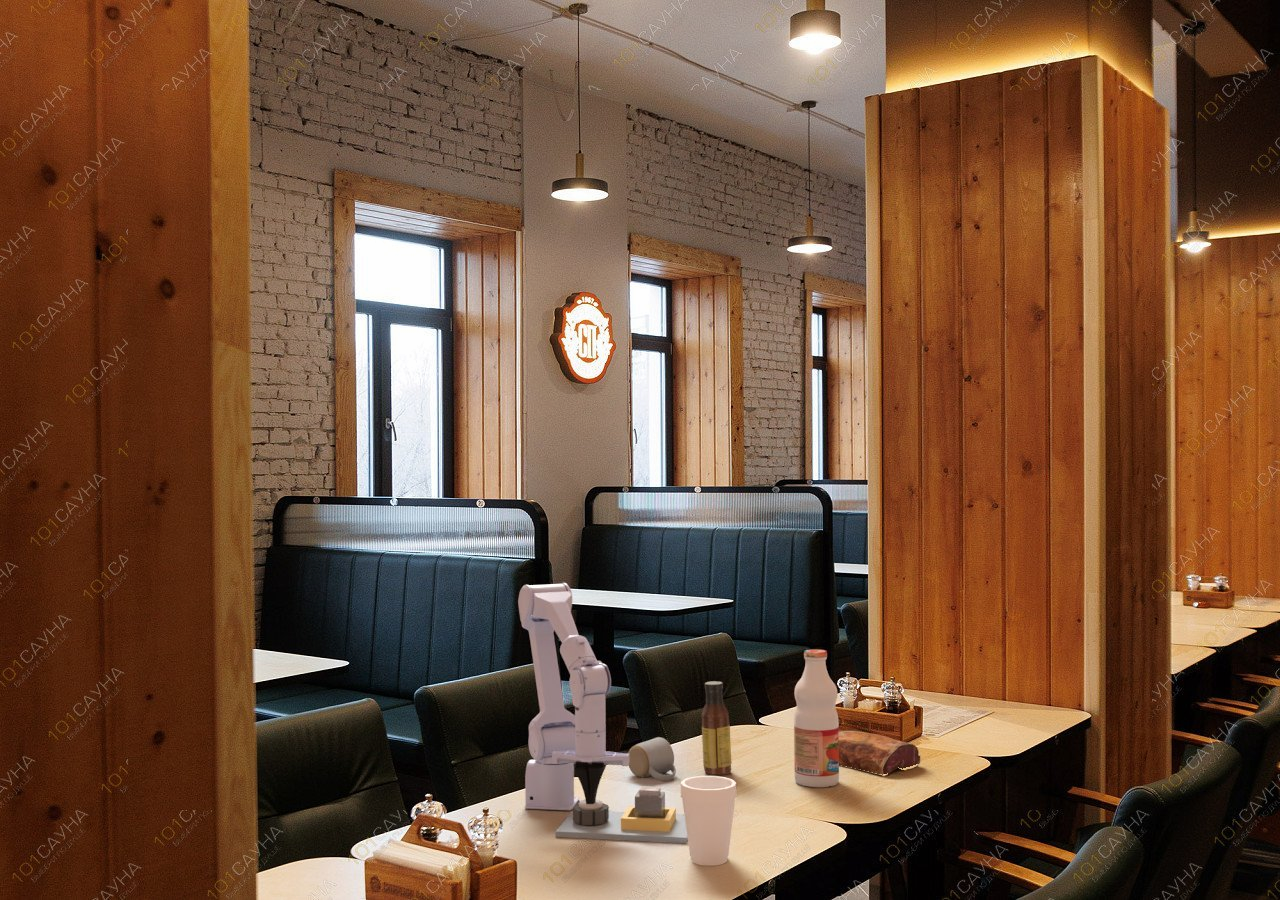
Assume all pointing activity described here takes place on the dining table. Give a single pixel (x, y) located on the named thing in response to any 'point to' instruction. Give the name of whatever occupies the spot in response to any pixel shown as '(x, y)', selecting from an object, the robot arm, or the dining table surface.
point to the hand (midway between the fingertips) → (590, 802)
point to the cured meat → (875, 752)
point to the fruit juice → (816, 724)
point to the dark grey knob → (590, 813)
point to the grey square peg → (650, 803)
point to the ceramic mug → (652, 759)
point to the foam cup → (708, 817)
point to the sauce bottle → (715, 731)
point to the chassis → (630, 827)
